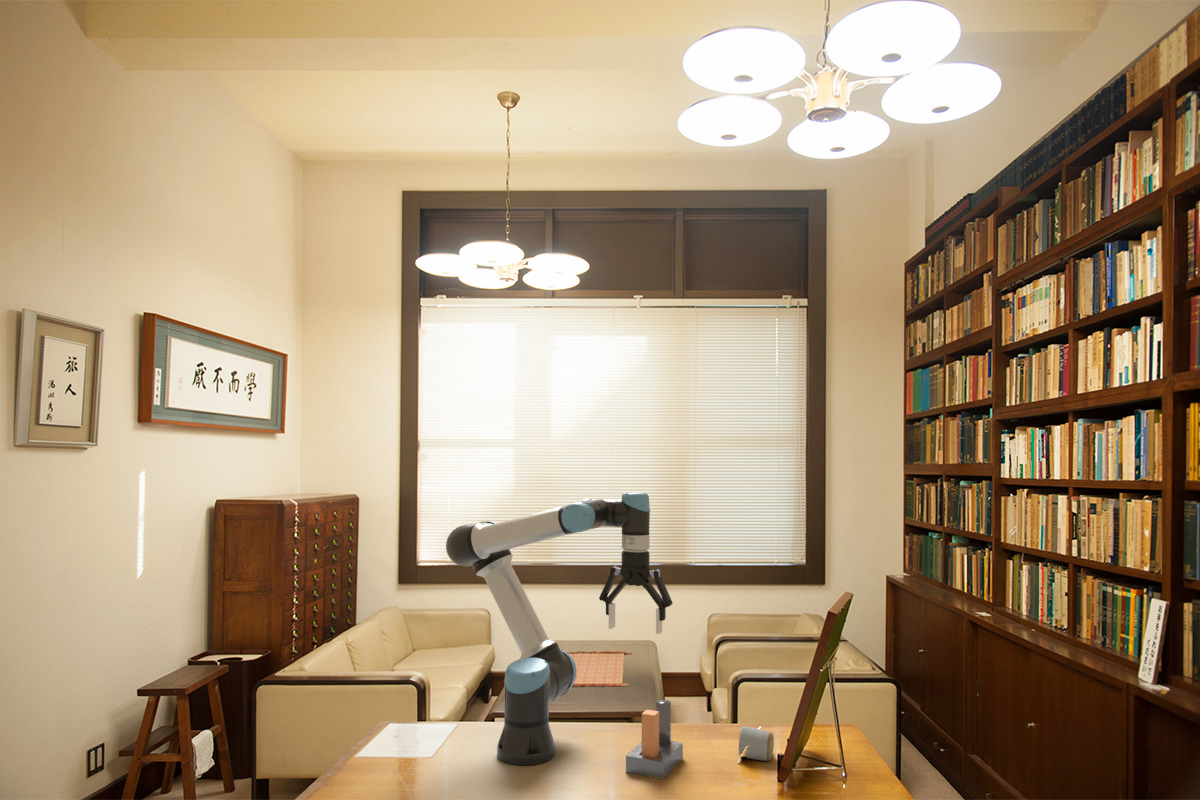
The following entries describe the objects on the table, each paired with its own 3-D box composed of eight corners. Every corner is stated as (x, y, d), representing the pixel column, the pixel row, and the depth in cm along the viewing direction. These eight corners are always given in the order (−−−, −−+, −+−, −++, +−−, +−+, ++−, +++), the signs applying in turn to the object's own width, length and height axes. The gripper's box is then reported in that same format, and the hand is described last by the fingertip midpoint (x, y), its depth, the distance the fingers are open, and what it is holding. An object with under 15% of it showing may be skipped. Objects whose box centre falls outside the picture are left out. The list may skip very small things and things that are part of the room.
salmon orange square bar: (641, 770, 197) (641, 713, 198) (646, 765, 200) (646, 709, 201) (654, 773, 196) (654, 715, 197) (659, 768, 199) (659, 711, 200)
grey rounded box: (770, 766, 201) (770, 735, 202) (738, 761, 204) (738, 730, 204) (776, 752, 211) (776, 722, 211) (745, 747, 214) (745, 718, 214)
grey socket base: (625, 772, 196) (626, 714, 197) (647, 751, 210) (648, 697, 211) (663, 779, 192) (663, 720, 193) (683, 757, 206) (683, 702, 207)
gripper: (587, 549, 215) (587, 628, 213) (674, 554, 204) (674, 638, 203) (599, 545, 221) (598, 622, 220) (684, 551, 211) (684, 632, 210)
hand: (635, 630), depth 212 cm, fingers open, 13 cm apart
